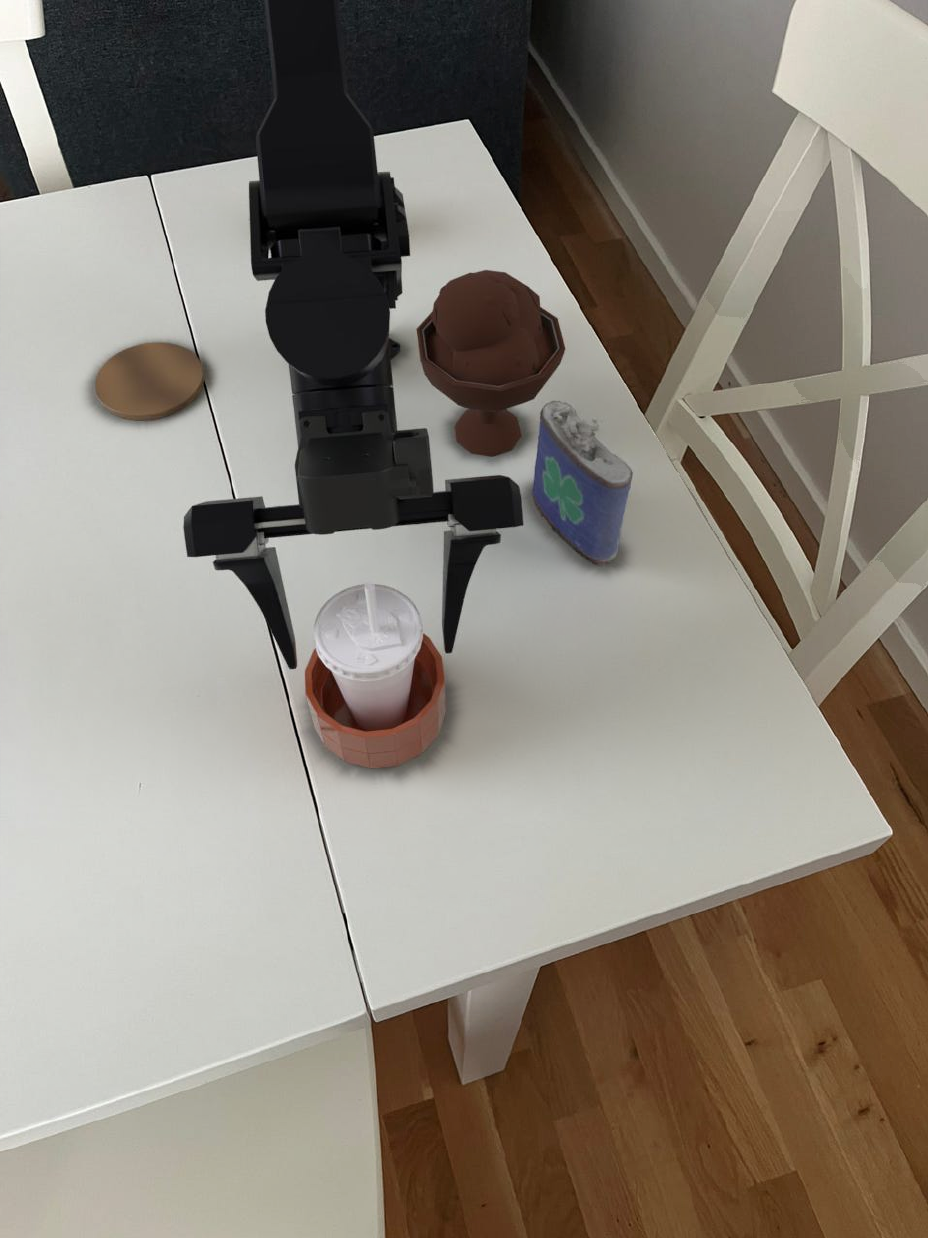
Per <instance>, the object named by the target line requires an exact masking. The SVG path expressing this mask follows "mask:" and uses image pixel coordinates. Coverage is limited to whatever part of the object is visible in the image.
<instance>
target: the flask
mask: <svg viewBox="0 0 928 1238" xmlns="http://www.w3.org/2000/svg"><path fill="white" fill-rule="evenodd" d="M592 422H593V424H591V425H590V424H588V422H587V420H586V419H580V416H579V414H578V412H577V410H576V409H575V408H574V407H573V406H572V405H571V404H570V403H568V402H566V401H560V400H552V401H549V402H548V403H546V404H545V405H543V407H542V408H541V410H540V412H539V431H538V436H537V445H536V446H537V450H536V458H535V464H534V475H533V483H532V490H531V499H532V502H533V504H534V507H535V508H536V509H537V511H538V513H539V515H540V517H541V518H543V520H544V522H545V523H546V524H547V526H548V527H550V528H551V530H552V531H553V532H555V533H556V534H558V536H559V537H560V538H561V539H562V540H563V541H564V542H565V543H566V544H567V545H568V546H569V547H571V549H573V551H575V552H576V553H577V554H579V556H580V557H581V558H583V559H585V560H586V561H588V562H590V563H591V564H593V565H596V566H597V567H598V566H607V565H608V564H610V563H612V562H613V561H615V559H616V557H617V554H618V551H619V545H620V537H621V534H622V533H621V532H622V526H623V522H624V516H625V512H626V506H627V503H628V502H627V501H628V497H629V492H630V489H631V487H632V482H633V476H634V475H633V474H634V472H633V470H632V467H630V465H628V463H627V462H625V461H624V460H622V459H621V458H619V457H618V456H617V455H616V454H615V453H613V452H612V451H610V450H609V449H608V448H607V447H606V446H605V445H604V444H603V443H601V441H600V440H598V438H596V433H595V432H599V431H600V429H601V428H600V425H599V423H598V420H597V419H595V418H592Z"/></svg>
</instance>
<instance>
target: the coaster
mask: <svg viewBox="0 0 928 1238" xmlns="http://www.w3.org/2000/svg"><path fill="white" fill-rule="evenodd" d="M204 384H205V370H204V368H203V364H202V362H201V360H200V358H199V357H198V356H197V355H196V354H195V353H194V352H193V351H192V350H190V349H188V348H186V347H185V346H182V345H179V344H177V343H176V344H175V343H171V342H163V341H162V342H161V341H159V342H158V341H156V342H154V341H153V342H144V343H141V344H136V345H133V346H130V347H128V348H124V349H123V350H120V351H119V352H117V353H115V354H114V355H113V356H111V357H110V358H109V359H107V360H106V362H105V363H104V364H103V365H102V366H101V367H100V368H99V370H98V372H97V374H96V376H95V380H94V392H95V395H96V397H97V399H98V402H99V403H100V404H101V406H102V407H103V409H105V410H106V411H108V412H109V413H110V414H112V415H114V416H117V417H119V418H123V419H126V420H131V421H132V420H133V421H150V420H156V419H161V418H164V417H168V416H171V415H173V414H176V413H177V412H179V411H182V410H183V409H184V408H186V407H188V406H189V405H190V404H191V403H192V402H194V400H195V399H196V398H197V397H198V395H199V394H200V393H201V391H202V388H203V386H204Z"/></svg>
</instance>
